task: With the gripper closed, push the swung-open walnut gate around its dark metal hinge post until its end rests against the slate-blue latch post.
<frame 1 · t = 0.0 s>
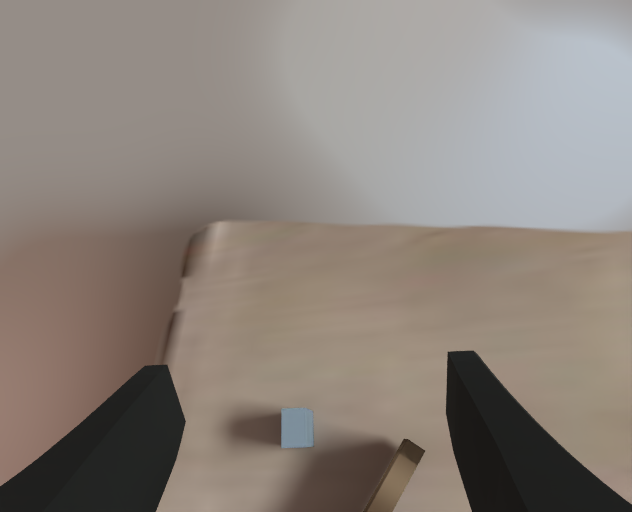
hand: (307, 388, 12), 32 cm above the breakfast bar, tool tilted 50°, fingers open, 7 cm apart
latch post: (302, 428, 42), on the breakfast bar
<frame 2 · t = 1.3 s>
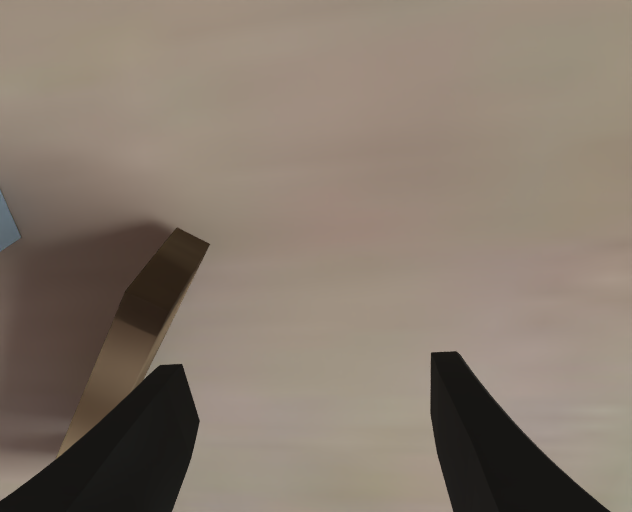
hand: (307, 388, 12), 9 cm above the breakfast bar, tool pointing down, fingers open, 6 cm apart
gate: (115, 389, 20), point 4 cm above the breakfast bar, hinge at -35.0°
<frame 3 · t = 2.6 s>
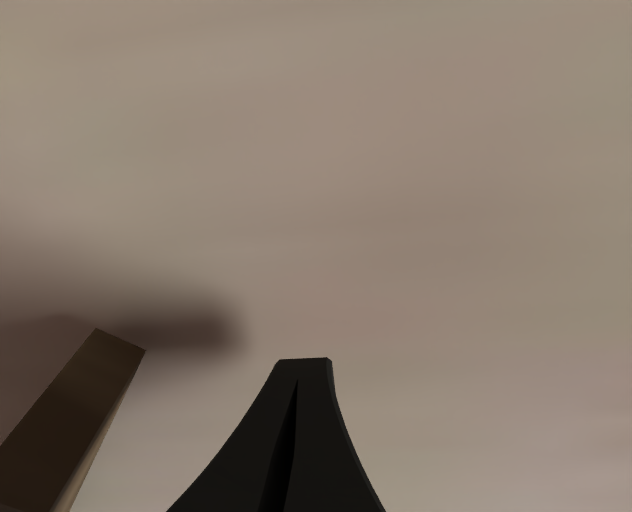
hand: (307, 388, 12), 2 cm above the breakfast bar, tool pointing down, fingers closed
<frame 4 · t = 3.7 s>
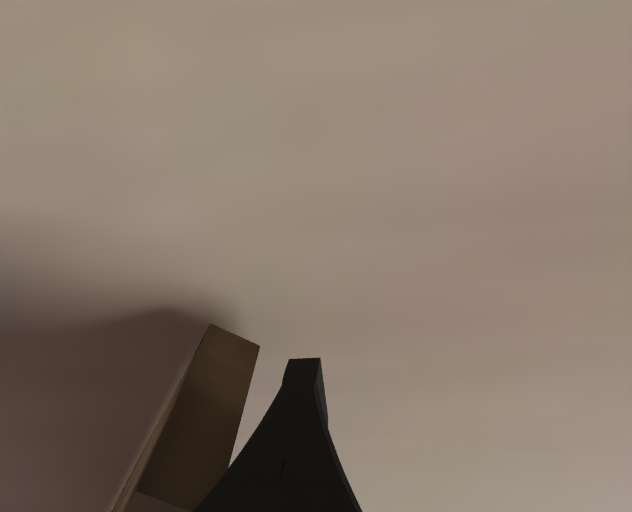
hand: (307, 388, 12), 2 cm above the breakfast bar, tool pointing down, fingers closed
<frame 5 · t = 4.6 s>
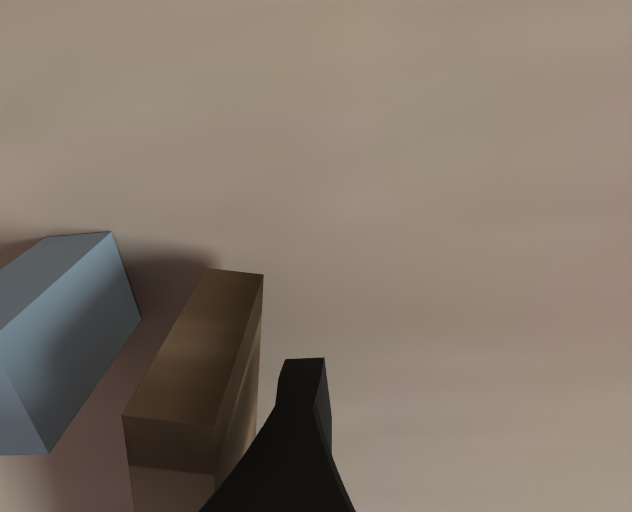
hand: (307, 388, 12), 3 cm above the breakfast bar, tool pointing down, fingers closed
latch post: (95, 280, 14), on the breakfast bar
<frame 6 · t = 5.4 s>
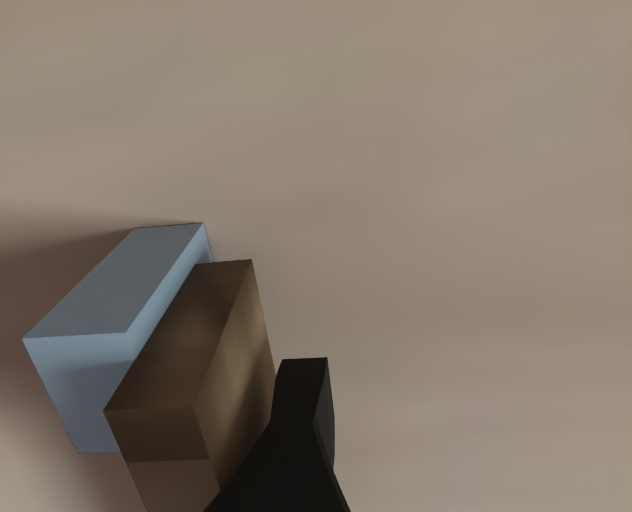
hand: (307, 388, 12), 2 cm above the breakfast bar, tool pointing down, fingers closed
latch post: (181, 273, 13), on the breakfast bar
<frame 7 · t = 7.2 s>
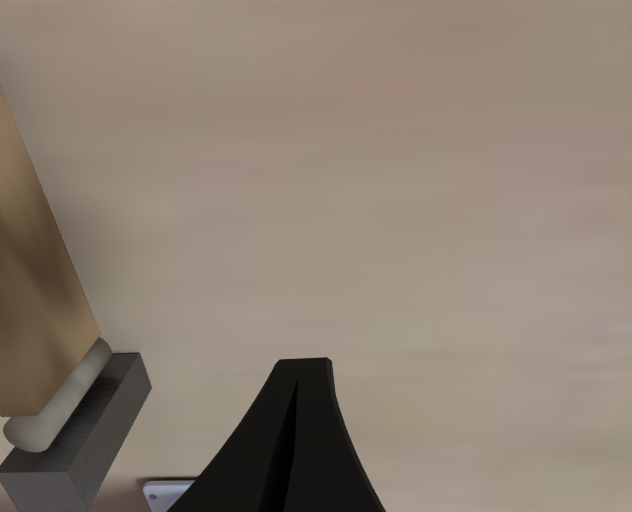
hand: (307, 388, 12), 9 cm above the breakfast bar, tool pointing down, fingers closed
hinge post: (104, 334, 23), on the breakfast bar
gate: (3, 261, 17), point 4 cm above the breakfast bar, hinge at 0.7°, touching latch post
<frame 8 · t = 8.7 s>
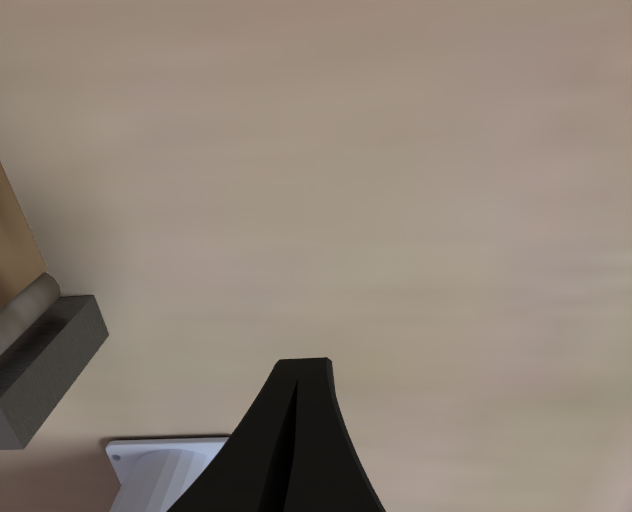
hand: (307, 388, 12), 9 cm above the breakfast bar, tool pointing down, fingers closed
hinge post: (55, 274, 22), on the breakfast bar
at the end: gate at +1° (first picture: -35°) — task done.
